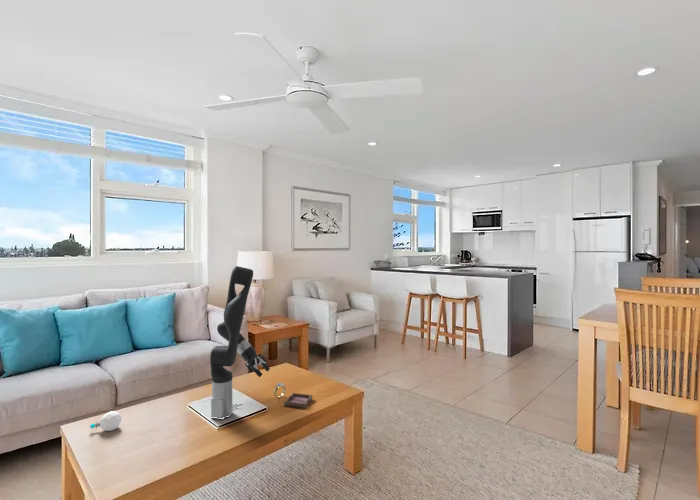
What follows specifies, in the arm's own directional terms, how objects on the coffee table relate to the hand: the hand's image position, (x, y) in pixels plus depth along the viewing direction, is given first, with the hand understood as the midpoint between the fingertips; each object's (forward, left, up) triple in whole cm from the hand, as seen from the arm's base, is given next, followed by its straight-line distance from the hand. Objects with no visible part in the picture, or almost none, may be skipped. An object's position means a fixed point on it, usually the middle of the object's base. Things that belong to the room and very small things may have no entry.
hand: (264, 373), depth 201 cm
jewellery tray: (-3, -21, -12) cm, 24 cm away
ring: (0, -9, -13) cm, 15 cm away
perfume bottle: (-51, +50, -13) cm, 73 cm away
